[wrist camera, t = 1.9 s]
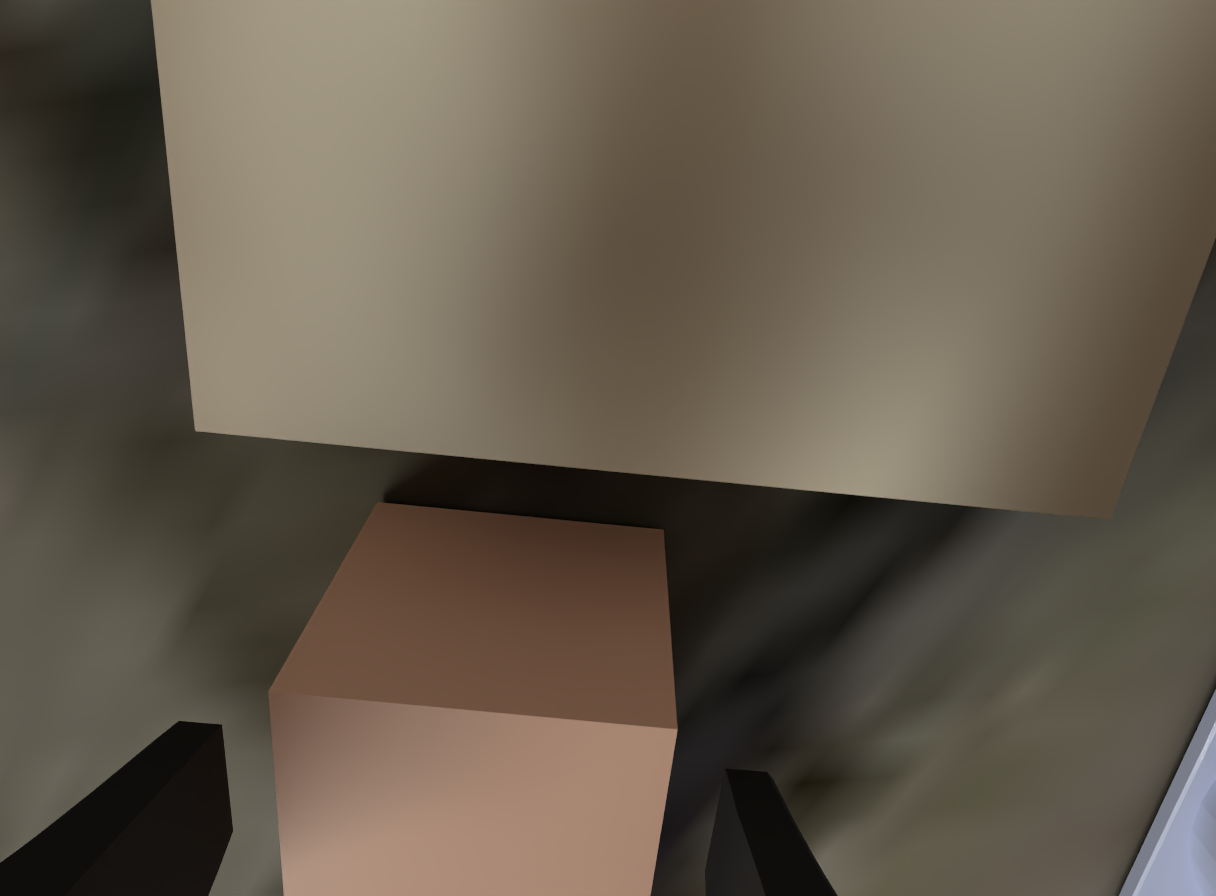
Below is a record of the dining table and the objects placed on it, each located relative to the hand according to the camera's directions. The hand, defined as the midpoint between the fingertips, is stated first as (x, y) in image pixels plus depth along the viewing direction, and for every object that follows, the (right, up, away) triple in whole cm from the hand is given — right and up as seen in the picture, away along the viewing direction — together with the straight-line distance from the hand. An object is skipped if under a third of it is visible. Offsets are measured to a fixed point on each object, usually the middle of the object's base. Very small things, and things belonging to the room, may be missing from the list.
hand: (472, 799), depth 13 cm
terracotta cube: (0, +2, +4) cm, 4 cm away
